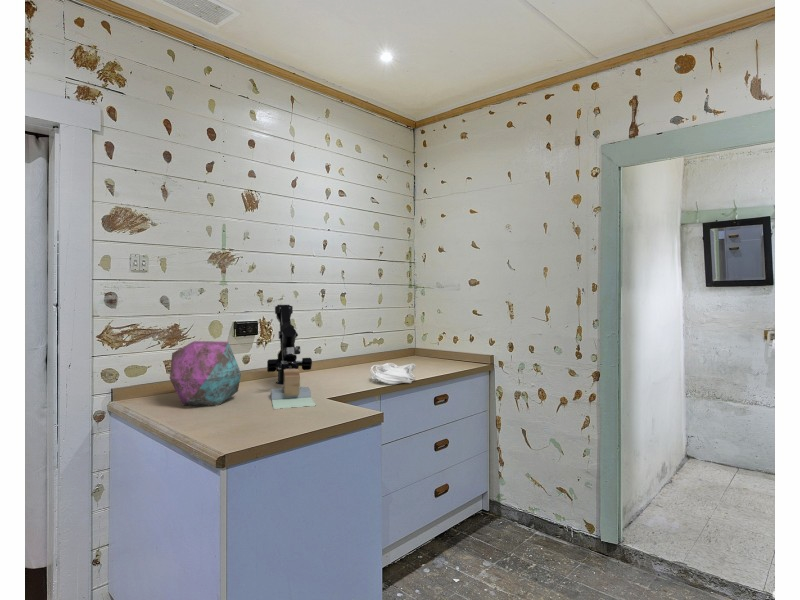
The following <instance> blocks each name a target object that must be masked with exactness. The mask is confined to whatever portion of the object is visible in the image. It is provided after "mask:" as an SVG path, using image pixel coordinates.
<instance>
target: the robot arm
mask: <svg viewBox="0 0 800 600" xmlns="http://www.w3.org/2000/svg"><path fill="white" fill-rule="evenodd" d="M293 307H294V306H293V305H290V304H277V305H276V306H274V314H275V315H276V316H275V317H276V319H277V321H278V322H279V331H278V340H280V345H279V347H280V351H279V352H278V354H277V358H276V359H275V358H273V359H272V358H271V359H267V362H266V363H267V366H266V367H267V368H266V369H267V370H266V371H267V372H268V373H273V372H277V381H276V382H275V384H279V385H283V384H284V369H299V367H301V370H303V371H310V370H312V367H313V366H312V365H313V360H312V358H311V357H302V358H301V360H297V358H298V357H297V355H300V354H301V346H300V345H297V346H296V345H295V343H296V339H297V338H298V336H299V334H298V331H296V329H295V326H294V325H292V322H291V316H292V314H293Z"/></svg>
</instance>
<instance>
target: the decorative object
mask: <svg viewBox="0 0 800 600" xmlns="http://www.w3.org/2000/svg"><path fill="white" fill-rule="evenodd" d="M241 376H242V372H241V369H240V367H239V365H238V362H237V360H236V358H235V355H234V352H233V350H232V348H231V344H230V343H229V341H212V340H211V341H209V340H208V341H205V340H204V341H202V340H201V341H198V340H194V341H192V342H190V343H188V344H186V345H185V346H184V345H183V346H182V347H181V348H179V349H177V350H175V351H173V352H172V354H171V364H170V372H169V380H170V382H171V384H172V386H173V388H174V389H175V390H174V391H175V392H176V394H177V396H178V398H179V400H180V402H181V404H182V405H183V404H190V405H189V406H208V405H219V406H220V405H221V404H223V403H224V402H225V401H227V400H228V399H230V398H231V397H232V396H234V395H235V394H236V393H238V392H239V387H240V381H241Z"/></svg>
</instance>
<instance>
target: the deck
mask: <svg viewBox="0 0 800 600" xmlns="http://www.w3.org/2000/svg"><path fill="white" fill-rule="evenodd" d="M309 397H311V398H312V390H311V388H310V387H309V386H301V387H299V395H293V396H284V389H283V387H282V388H271V389H270V399H272V400H280V399H295V398H309ZM272 400H271V401H272Z"/></svg>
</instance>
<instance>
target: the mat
mask: <svg viewBox="0 0 800 600" xmlns="http://www.w3.org/2000/svg"><path fill="white" fill-rule="evenodd" d="M271 403H272V408H273V410H281V409H280V408H283V409H292V408H291V407H297V408H304V407H303V406H310V407H316V406H315V405H316V403H315V401H314V400H313V398H312V396H311V397H309V398H295V399H280V400H271Z"/></svg>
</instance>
